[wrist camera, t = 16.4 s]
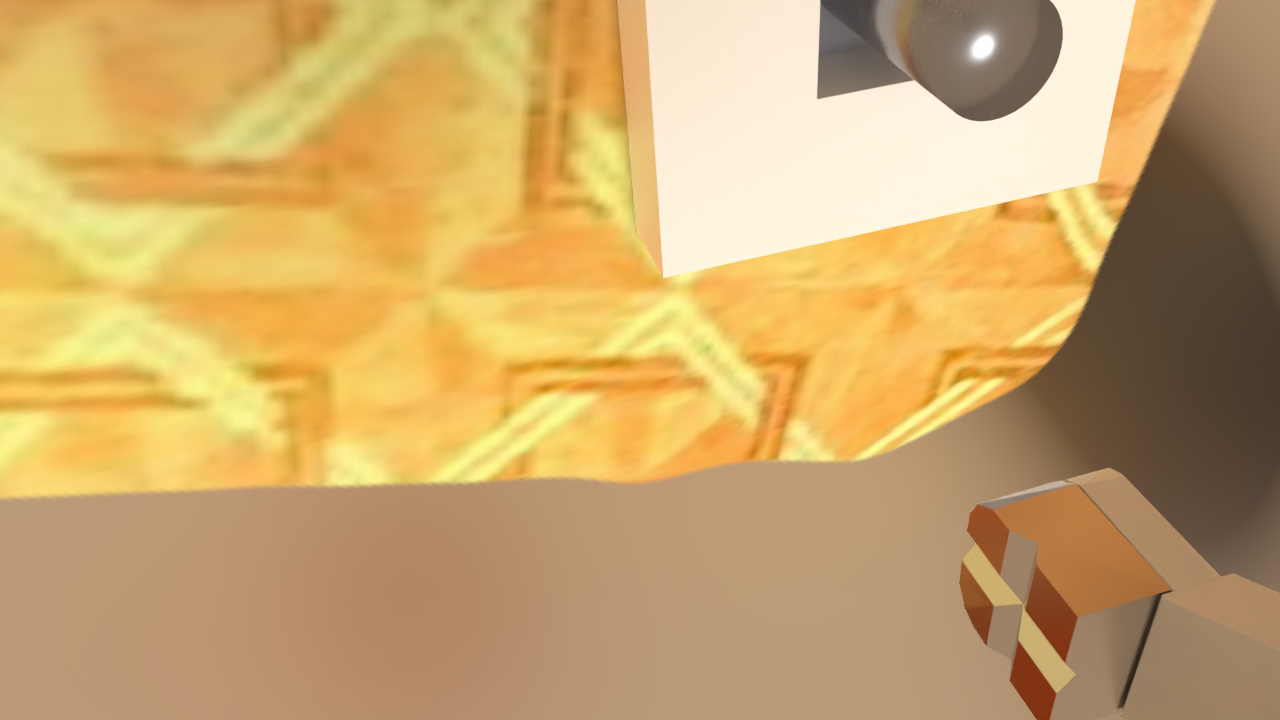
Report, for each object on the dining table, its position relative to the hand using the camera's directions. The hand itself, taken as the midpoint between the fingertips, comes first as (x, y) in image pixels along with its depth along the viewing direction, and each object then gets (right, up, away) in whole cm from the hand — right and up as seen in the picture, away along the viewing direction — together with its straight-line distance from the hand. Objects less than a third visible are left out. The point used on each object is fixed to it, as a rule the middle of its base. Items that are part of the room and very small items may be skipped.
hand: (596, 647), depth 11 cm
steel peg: (+9, +18, +32) cm, 38 cm away
